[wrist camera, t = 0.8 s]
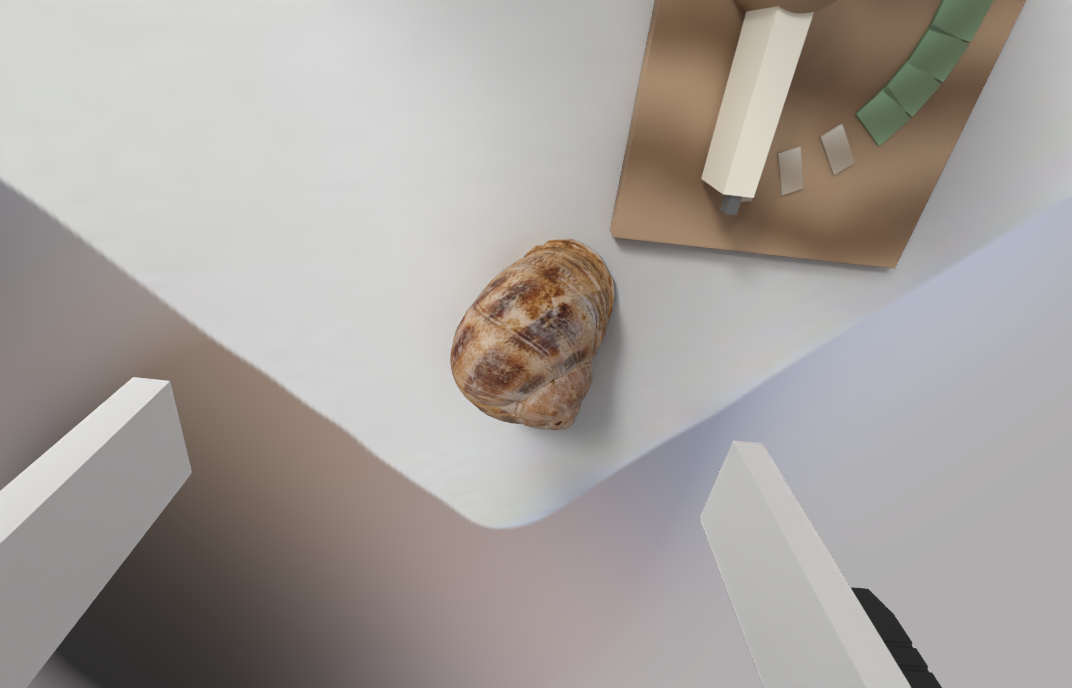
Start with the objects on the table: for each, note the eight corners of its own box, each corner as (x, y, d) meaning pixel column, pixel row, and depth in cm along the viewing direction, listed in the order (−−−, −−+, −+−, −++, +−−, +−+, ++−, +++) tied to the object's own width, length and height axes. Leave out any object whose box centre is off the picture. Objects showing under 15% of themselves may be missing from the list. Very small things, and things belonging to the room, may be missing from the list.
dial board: (698, -221, 22) (708, -237, 21) (1078, -150, 24) (1108, -161, 23) (609, 231, 32) (613, 238, 31) (883, 261, 34) (896, 269, 32)
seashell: (640, 369, 36) (579, 472, 29) (532, 360, 41) (459, 447, 34) (610, 228, 31) (528, 313, 24) (491, 237, 36) (396, 310, 29)
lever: (744, -105, 23) (784, -133, 20) (837, -90, 24) (892, -113, 20) (671, 192, 30) (691, 212, 26) (745, 201, 30) (775, 221, 26)
